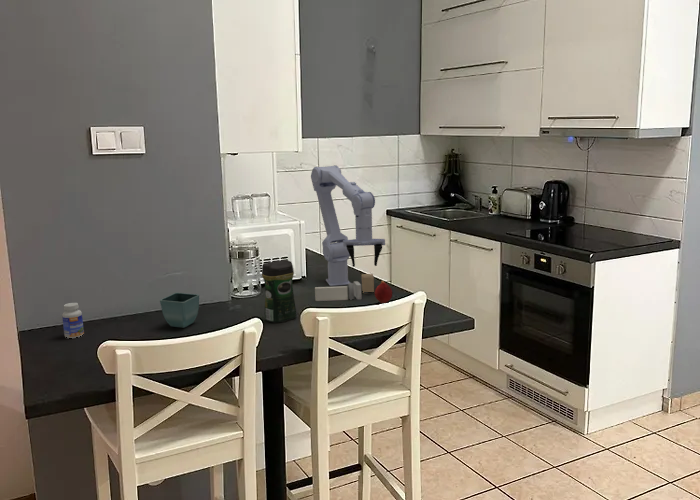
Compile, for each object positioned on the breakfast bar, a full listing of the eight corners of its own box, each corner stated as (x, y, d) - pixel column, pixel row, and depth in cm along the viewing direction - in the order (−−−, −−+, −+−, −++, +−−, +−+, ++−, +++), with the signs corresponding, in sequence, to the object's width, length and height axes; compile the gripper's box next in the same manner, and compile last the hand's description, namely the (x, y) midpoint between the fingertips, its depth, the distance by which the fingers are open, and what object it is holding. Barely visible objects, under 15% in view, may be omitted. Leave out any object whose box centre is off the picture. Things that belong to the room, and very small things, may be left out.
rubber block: (361, 289, 238) (361, 274, 237) (372, 288, 238) (372, 273, 237) (362, 293, 232) (362, 278, 231) (374, 293, 232) (373, 277, 231)
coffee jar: (287, 313, 211) (284, 256, 208) (300, 318, 205) (297, 260, 201) (260, 319, 206) (257, 261, 202) (273, 325, 199) (270, 265, 196)
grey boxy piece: (361, 299, 225) (361, 283, 224) (349, 300, 224) (348, 284, 223) (358, 295, 230) (357, 279, 229) (346, 296, 229) (345, 280, 228)
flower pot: (186, 330, 197) (183, 302, 195) (161, 328, 200) (158, 299, 198) (202, 322, 205) (200, 294, 203) (178, 319, 208) (175, 292, 206)
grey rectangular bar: (347, 298, 226) (347, 285, 225) (347, 299, 224) (347, 287, 223) (315, 299, 226) (315, 286, 225) (315, 301, 224) (314, 288, 223)
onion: (392, 301, 221) (392, 278, 219) (392, 306, 215) (391, 282, 213) (375, 301, 221) (374, 278, 220) (374, 306, 216) (373, 282, 214)
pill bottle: (72, 340, 191) (68, 308, 189) (60, 337, 194) (56, 305, 192) (88, 334, 196) (84, 303, 194) (76, 331, 199) (73, 300, 197)
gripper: (343, 230, 223) (344, 269, 226) (385, 228, 224) (386, 267, 227) (342, 226, 230) (343, 264, 233) (383, 225, 231) (384, 262, 234)
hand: (364, 265), depth 231 cm, fingers open, 7 cm apart
